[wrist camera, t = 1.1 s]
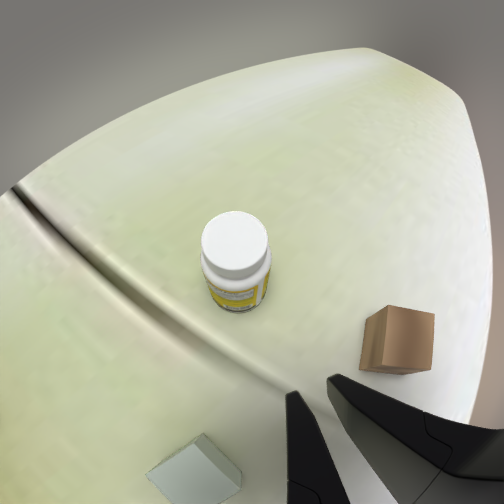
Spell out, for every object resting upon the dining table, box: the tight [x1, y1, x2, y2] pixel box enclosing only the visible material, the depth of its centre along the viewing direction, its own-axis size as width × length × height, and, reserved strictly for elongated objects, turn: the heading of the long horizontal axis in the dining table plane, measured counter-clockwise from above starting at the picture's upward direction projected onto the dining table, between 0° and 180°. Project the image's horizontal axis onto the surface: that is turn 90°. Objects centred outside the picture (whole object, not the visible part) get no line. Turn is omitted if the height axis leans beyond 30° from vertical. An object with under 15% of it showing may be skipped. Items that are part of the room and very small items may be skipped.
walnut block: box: [359, 305, 435, 375], centre depth 20 cm, size 4×4×4 cm
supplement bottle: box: [200, 211, 272, 313], centre depth 20 cm, size 5×5×8 cm
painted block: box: [145, 433, 242, 504], centre depth 15 cm, size 4×4×4 cm
